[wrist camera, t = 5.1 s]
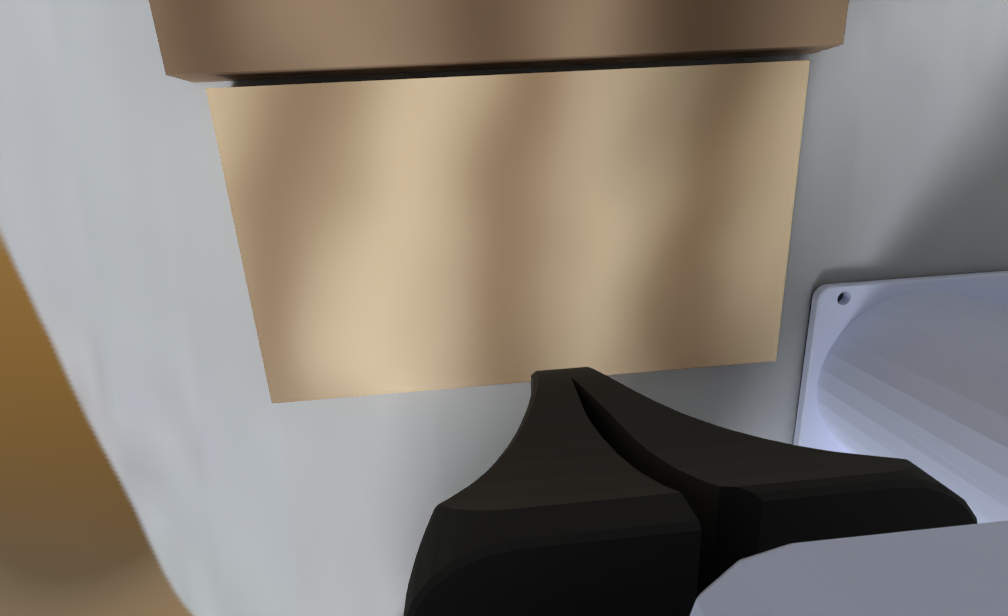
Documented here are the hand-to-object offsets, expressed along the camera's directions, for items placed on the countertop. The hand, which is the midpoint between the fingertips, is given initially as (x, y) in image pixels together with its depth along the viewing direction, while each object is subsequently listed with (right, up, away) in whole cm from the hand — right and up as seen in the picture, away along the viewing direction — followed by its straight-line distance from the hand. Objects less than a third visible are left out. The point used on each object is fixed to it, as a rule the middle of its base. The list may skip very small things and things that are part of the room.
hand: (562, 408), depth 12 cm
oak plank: (-1, +5, +6) cm, 8 cm away
